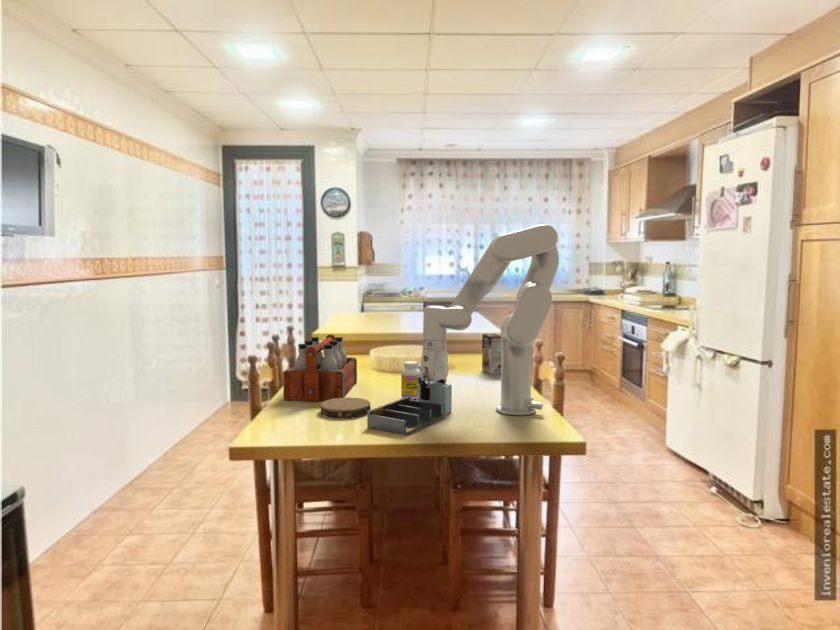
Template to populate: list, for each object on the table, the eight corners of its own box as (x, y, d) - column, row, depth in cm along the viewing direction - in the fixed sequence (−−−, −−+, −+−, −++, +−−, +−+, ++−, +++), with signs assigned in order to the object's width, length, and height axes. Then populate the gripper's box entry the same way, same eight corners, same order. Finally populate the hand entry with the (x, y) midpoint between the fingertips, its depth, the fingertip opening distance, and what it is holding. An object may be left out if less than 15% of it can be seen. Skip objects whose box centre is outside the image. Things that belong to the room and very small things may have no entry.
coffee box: (481, 370, 255) (481, 333, 253) (494, 369, 257) (495, 333, 255) (490, 374, 246) (490, 336, 245) (503, 373, 248) (504, 336, 247)
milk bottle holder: (280, 402, 200) (279, 347, 198) (307, 381, 234) (305, 333, 233) (341, 403, 198) (340, 347, 196) (358, 381, 233) (358, 334, 231)
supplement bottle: (403, 401, 201) (403, 364, 200) (399, 396, 207) (399, 361, 206) (422, 399, 203) (422, 363, 202) (417, 395, 209) (417, 360, 208)
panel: (451, 411, 187) (451, 384, 186) (445, 414, 184) (445, 386, 183) (425, 407, 192) (425, 380, 192) (418, 410, 189) (418, 383, 188)
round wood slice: (325, 406, 196) (325, 397, 195) (372, 406, 196) (372, 397, 195) (316, 419, 180) (316, 409, 179) (368, 419, 180) (368, 409, 179)
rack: (445, 417, 180) (445, 402, 179) (407, 435, 162) (407, 418, 162) (407, 411, 187) (407, 396, 187) (367, 427, 170) (367, 411, 169)
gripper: (430, 348, 177) (428, 404, 178) (457, 342, 191) (456, 393, 193) (409, 346, 181) (408, 400, 182) (438, 340, 195) (436, 390, 197)
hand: (433, 396), depth 188 cm, fingers open, 9 cm apart
